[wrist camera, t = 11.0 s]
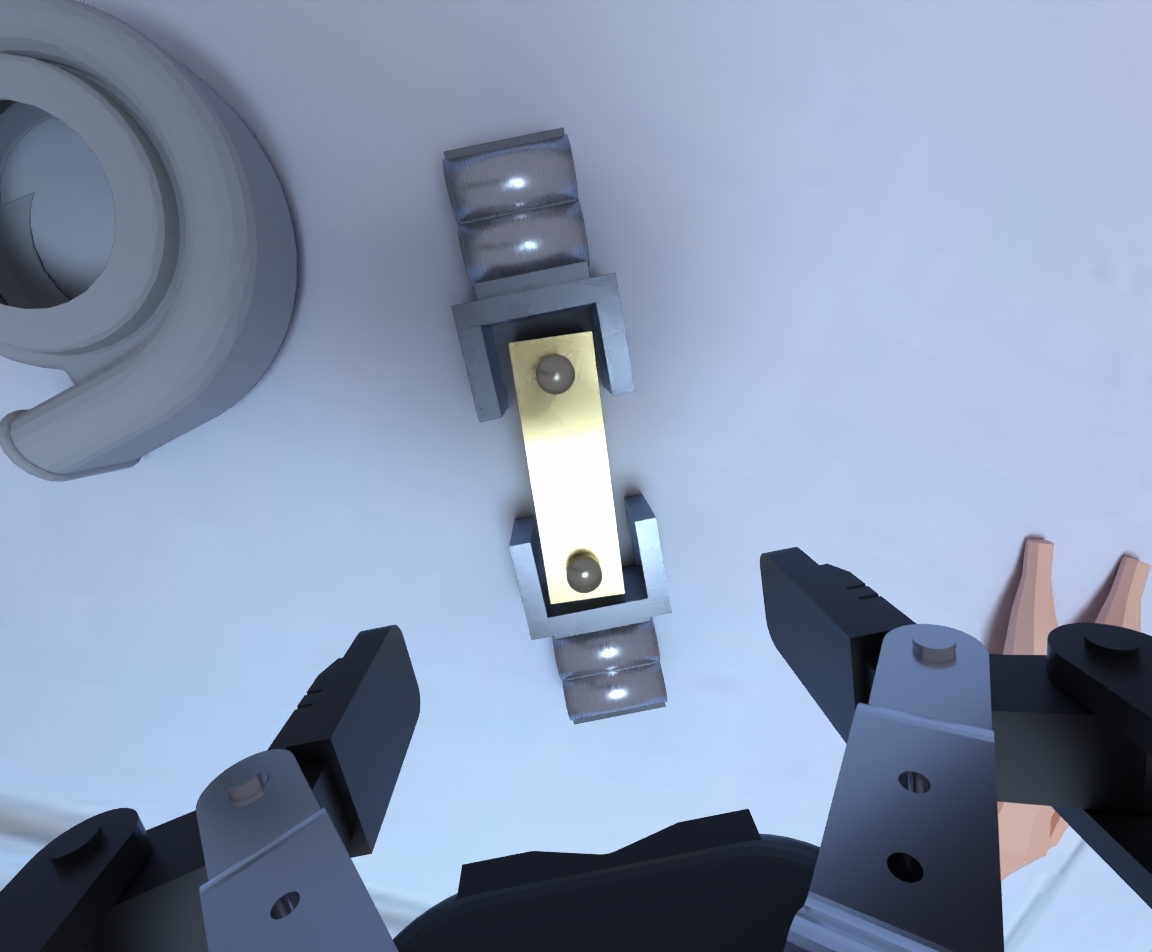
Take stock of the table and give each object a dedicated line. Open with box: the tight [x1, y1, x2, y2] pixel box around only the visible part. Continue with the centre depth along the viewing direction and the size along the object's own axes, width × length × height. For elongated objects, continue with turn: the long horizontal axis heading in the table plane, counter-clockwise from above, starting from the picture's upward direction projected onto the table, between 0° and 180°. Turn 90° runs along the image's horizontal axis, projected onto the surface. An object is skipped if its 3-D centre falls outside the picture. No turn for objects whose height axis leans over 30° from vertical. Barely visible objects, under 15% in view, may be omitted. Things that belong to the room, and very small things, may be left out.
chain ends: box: [443, 128, 672, 724], centre depth 27 cm, size 7×28×4 cm, turn 11°
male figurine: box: [997, 539, 1151, 881], centre depth 33 cm, size 11×5×25 cm
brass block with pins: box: [508, 331, 625, 604], centre depth 26 cm, size 4×12×6 cm, turn 8°
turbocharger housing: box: [0, 0, 297, 481], centre depth 23 cm, size 17×6×15 cm
